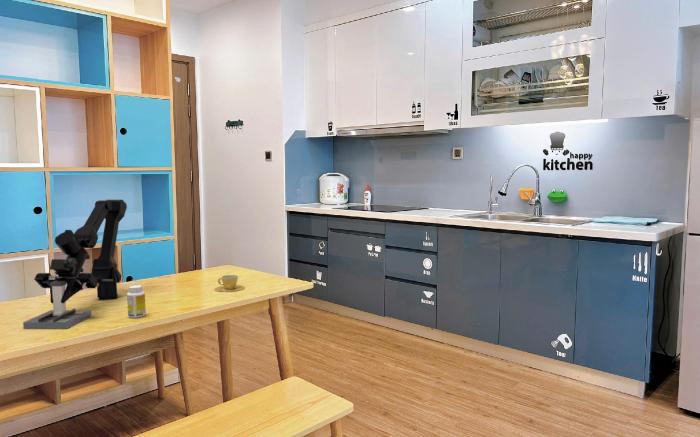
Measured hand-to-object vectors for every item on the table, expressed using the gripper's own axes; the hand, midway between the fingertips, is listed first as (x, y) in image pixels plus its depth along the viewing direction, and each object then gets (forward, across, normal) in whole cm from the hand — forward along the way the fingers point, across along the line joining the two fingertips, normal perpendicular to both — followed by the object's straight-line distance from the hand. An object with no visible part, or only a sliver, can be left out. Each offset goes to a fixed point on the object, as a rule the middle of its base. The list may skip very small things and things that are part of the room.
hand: (56, 302), depth 166 cm
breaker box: (+5, 0, +4) cm, 7 cm away
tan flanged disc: (-29, +43, +39) cm, 65 cm away
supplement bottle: (-1, +23, +10) cm, 25 cm away
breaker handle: (+2, 0, +4) cm, 4 cm away
